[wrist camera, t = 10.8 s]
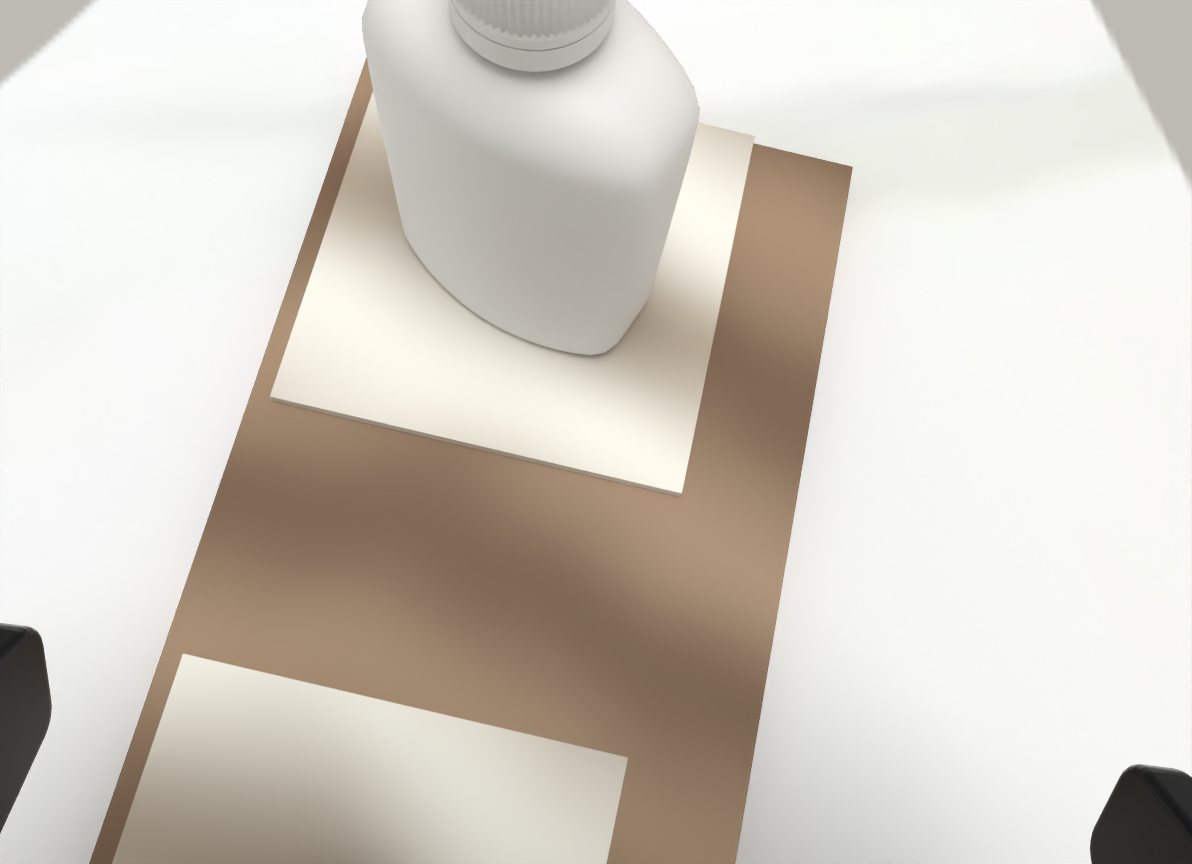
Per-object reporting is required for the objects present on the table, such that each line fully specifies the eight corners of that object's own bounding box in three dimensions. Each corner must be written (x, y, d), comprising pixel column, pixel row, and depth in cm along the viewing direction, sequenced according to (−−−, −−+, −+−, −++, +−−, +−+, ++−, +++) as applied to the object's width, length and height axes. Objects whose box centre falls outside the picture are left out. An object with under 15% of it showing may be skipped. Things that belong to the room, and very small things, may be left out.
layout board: (647, 1327, 19) (654, 1361, 18) (-3, 1176, 19) (-34, 1203, 18) (842, 184, 26) (856, 160, 25) (372, 72, 26) (366, 44, 25)
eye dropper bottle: (554, 129, 25) (588, -411, 13) (671, 327, 23) (820, -79, 12) (384, 202, 24) (259, -309, 12) (495, 412, 22) (474, 62, 11)
